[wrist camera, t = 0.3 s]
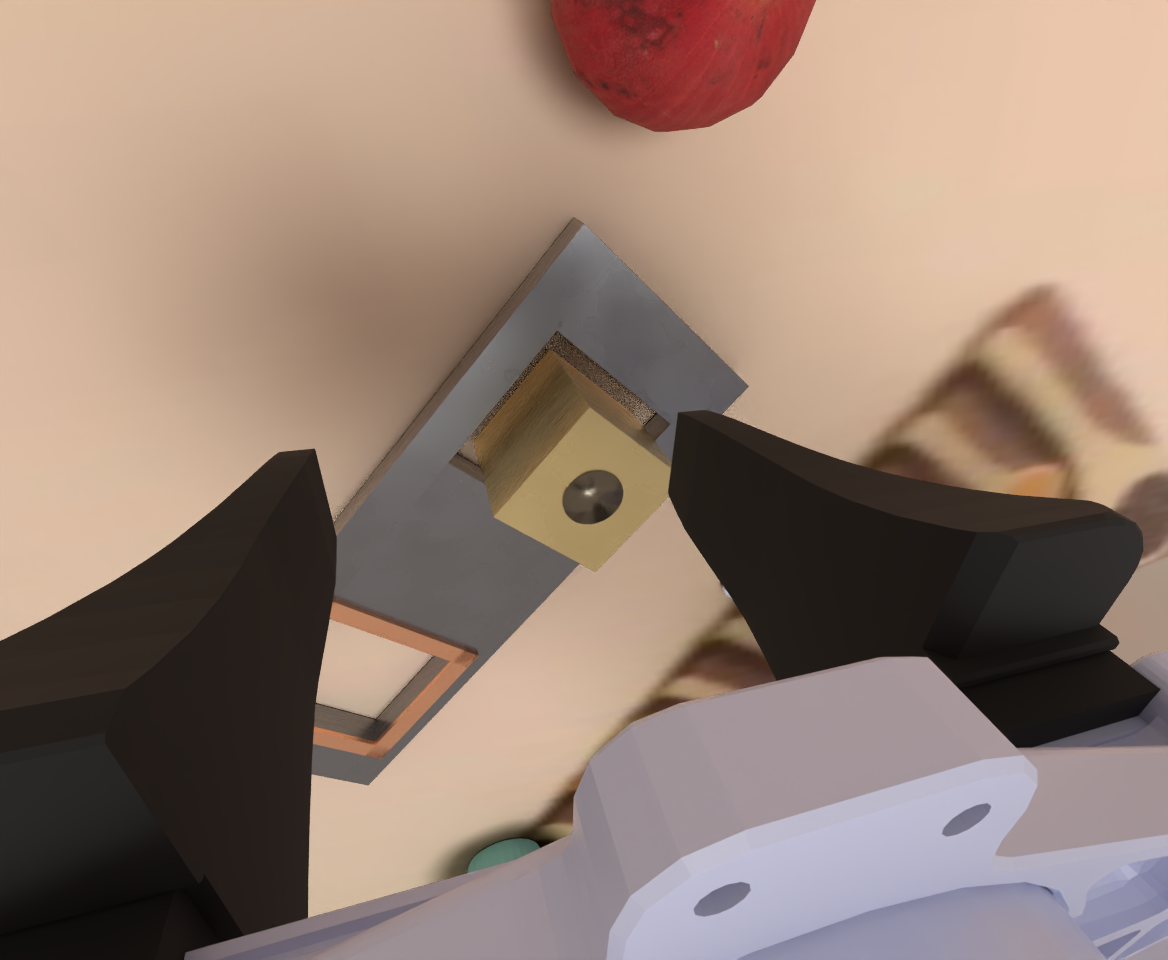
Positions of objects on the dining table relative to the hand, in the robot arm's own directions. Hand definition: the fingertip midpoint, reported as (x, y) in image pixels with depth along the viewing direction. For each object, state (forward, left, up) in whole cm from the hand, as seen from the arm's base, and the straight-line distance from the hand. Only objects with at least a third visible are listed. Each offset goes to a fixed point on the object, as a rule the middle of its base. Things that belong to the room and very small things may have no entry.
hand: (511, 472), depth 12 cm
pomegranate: (+2, -10, -10) cm, 14 cm away
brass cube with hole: (-5, +1, -10) cm, 11 cm away
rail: (-5, +8, -10) cm, 14 cm away
